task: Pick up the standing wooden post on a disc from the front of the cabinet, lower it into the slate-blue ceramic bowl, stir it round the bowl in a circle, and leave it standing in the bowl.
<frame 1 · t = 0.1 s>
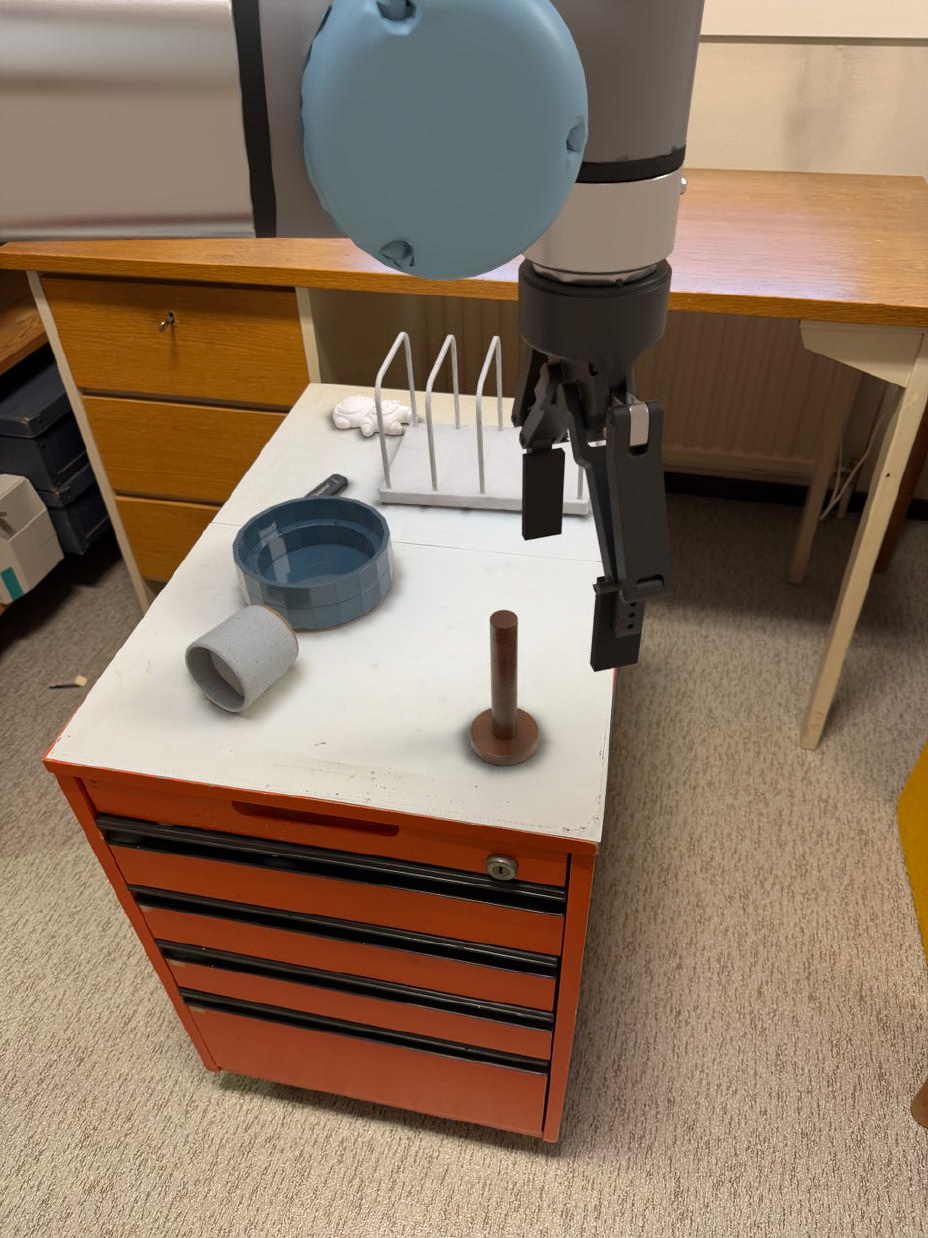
hand: (574, 593, 57), 23 cm above the cabinet, tool pointing down, fingers open, 13 cm apart
wooden post on disc: (504, 739, 78), on the cabinet
ceramic mug: (240, 681, 85), on the cabinet
usb stick: (319, 503, 108), on the cabinet
file sorter: (492, 474, 111), on the cabinet
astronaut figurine: (374, 422, 123), on the cabinet
bowl: (319, 583, 96), on the cabinet
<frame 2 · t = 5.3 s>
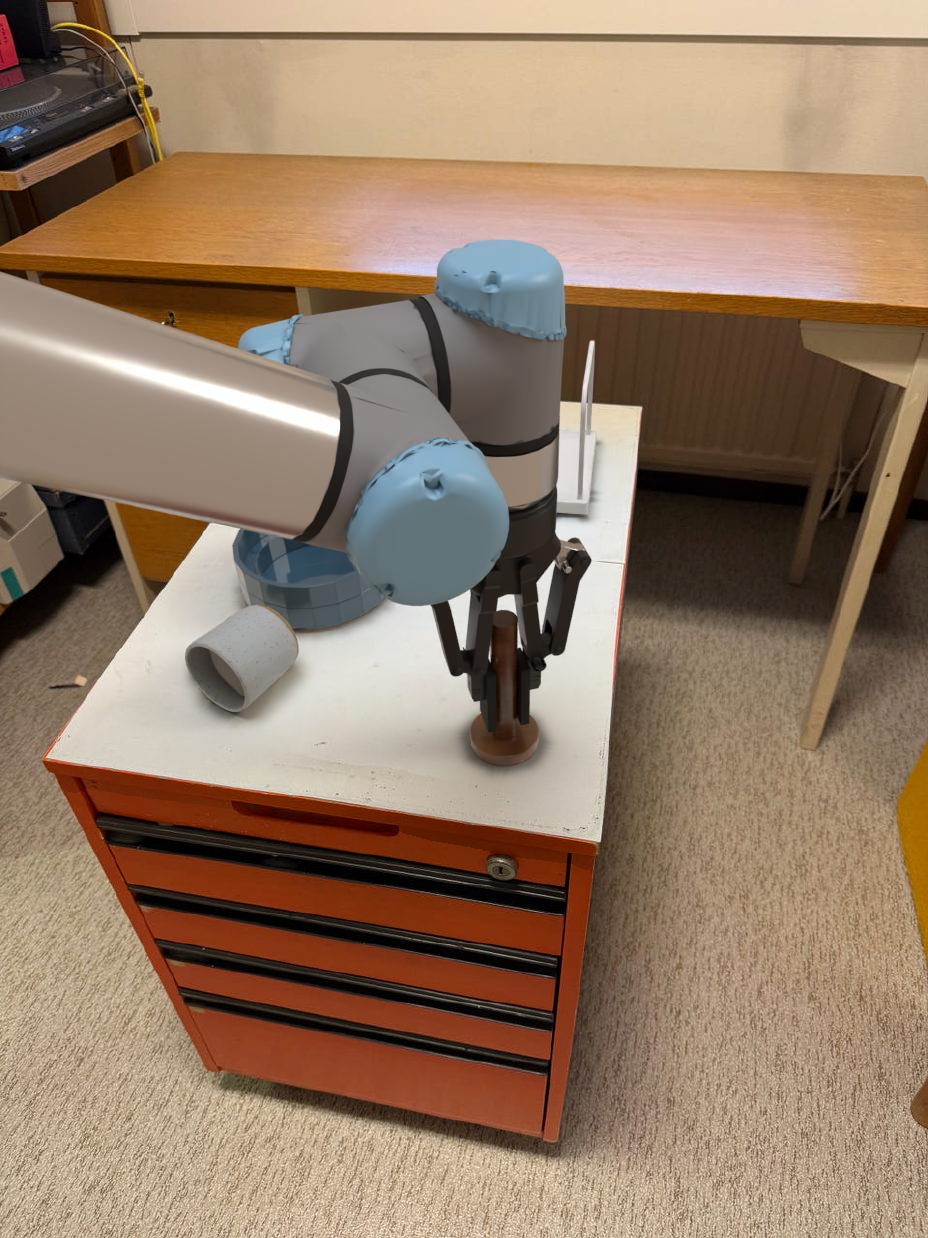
hand: (504, 716, 76), 3 cm above the cabinet, tool pointing down, fingers closed on wooden post on disc, 2 cm apart
wooden post on disc: (504, 739, 78), on the cabinet, touching gripper
everything else where it was.
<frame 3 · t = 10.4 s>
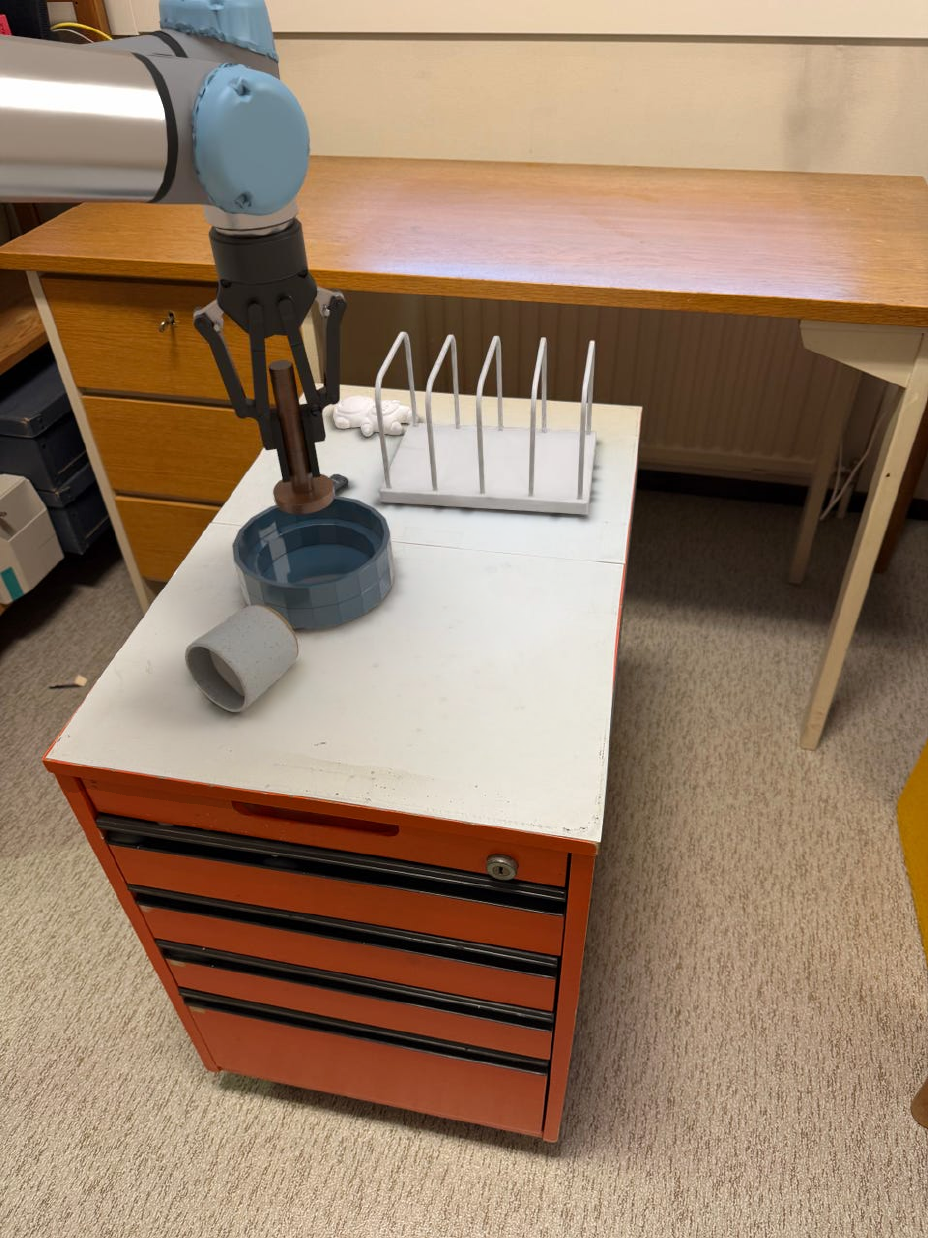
hand: (300, 472, 87), 14 cm above the cabinet, tool pointing down, fingers closed on wooden post on disc, 2 cm apart
wooden post on disc: (305, 497, 89), point 11 cm above the cabinet, touching gripper
everything else where it was.
when the fingers open (4 cm above the cabinet, at t = 15.5 s): wooden post on disc stays where it is, resting on bowl.
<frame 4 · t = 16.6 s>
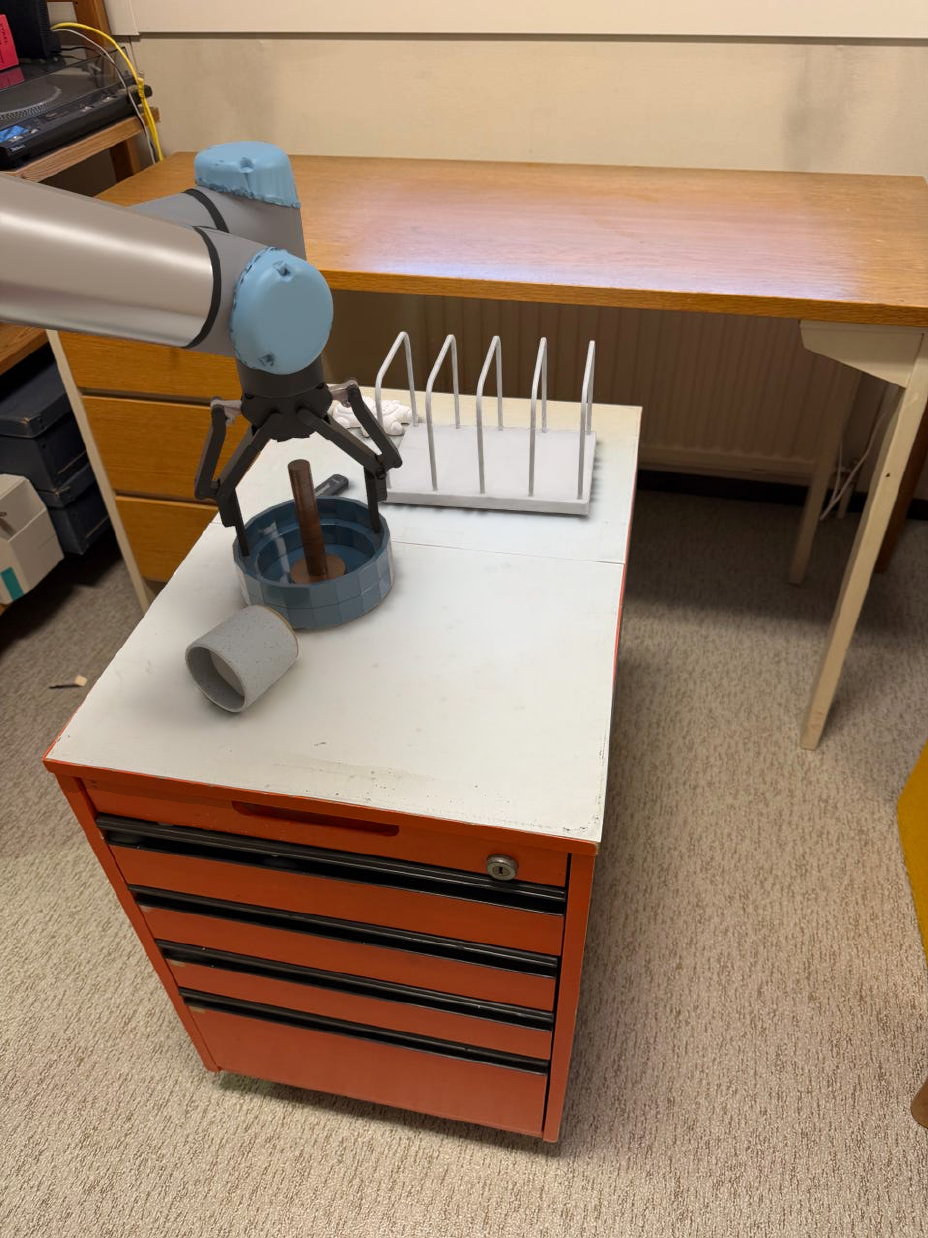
hand: (311, 537, 92), 6 cm above the cabinet, tool pointing down, fingers open, 13 cm apart
wooden post on disc: (319, 578, 95), point 1 cm above the cabinet, touching bowl
everything else where it was.
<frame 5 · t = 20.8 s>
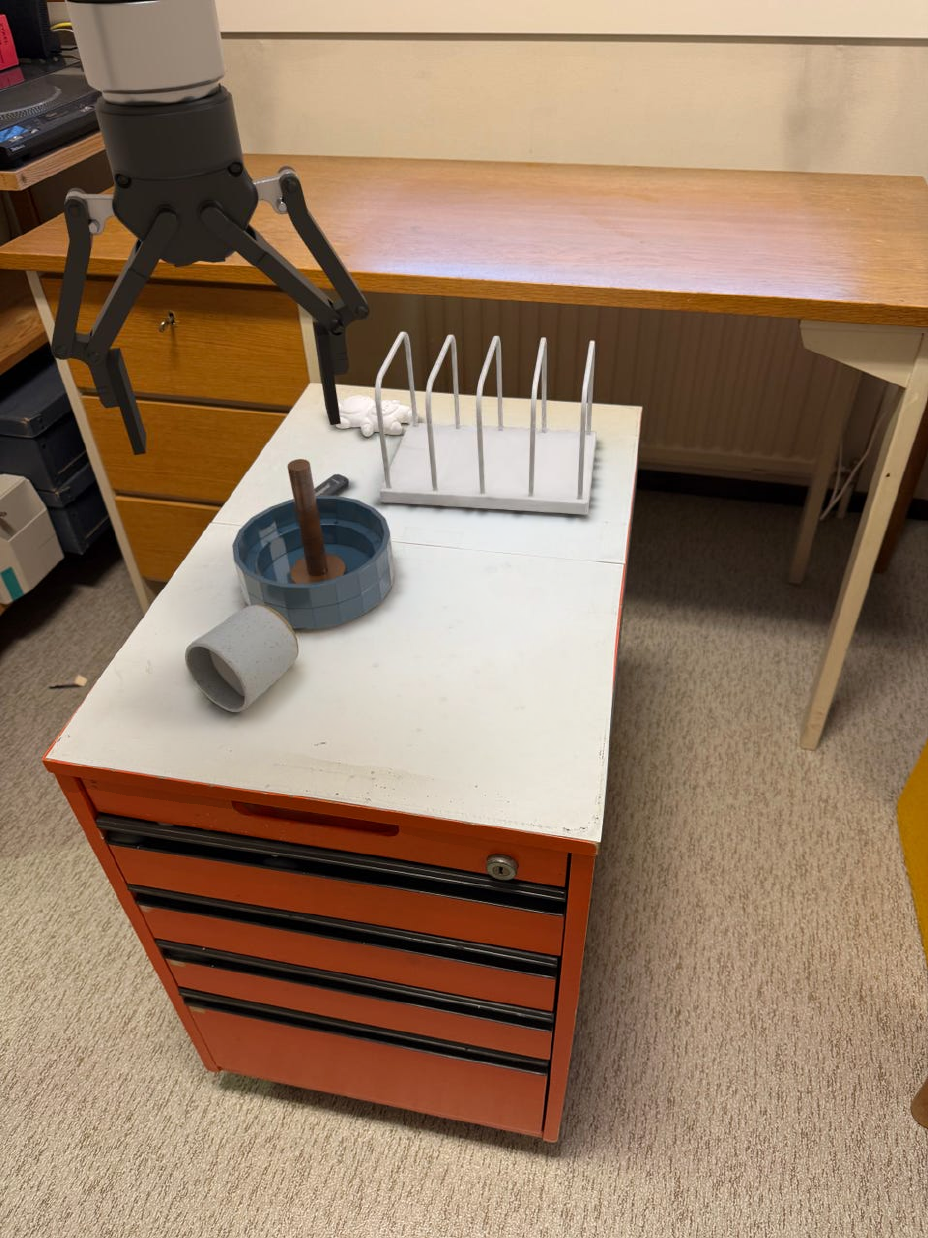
hand: (238, 430, 63), 29 cm above the cabinet, tool pointing down, fingers open, 13 cm apart
nothing on the cabinet moved.
at the end: wooden post on disc inside the target area in the bowl (0.1 cm from its centre), point 0.6 cm above the bowl's base; wooden post on disc tilted 0°; the gripper is holding nothing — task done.
